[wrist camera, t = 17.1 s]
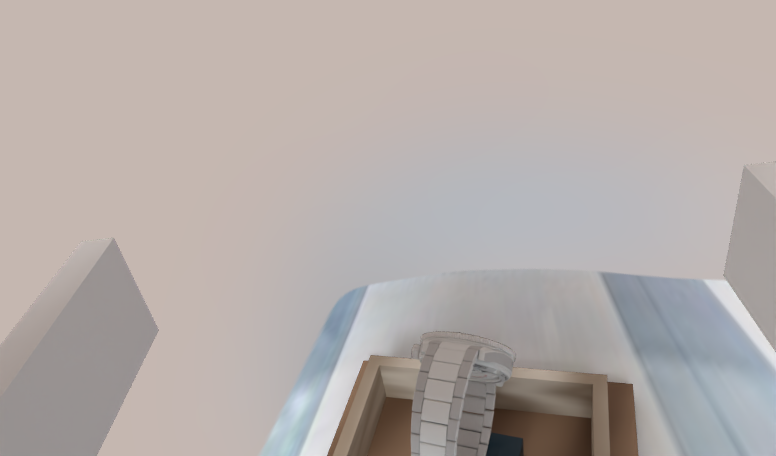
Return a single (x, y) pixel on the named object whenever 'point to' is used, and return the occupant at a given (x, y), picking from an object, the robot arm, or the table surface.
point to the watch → (459, 396)
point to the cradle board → (495, 412)
